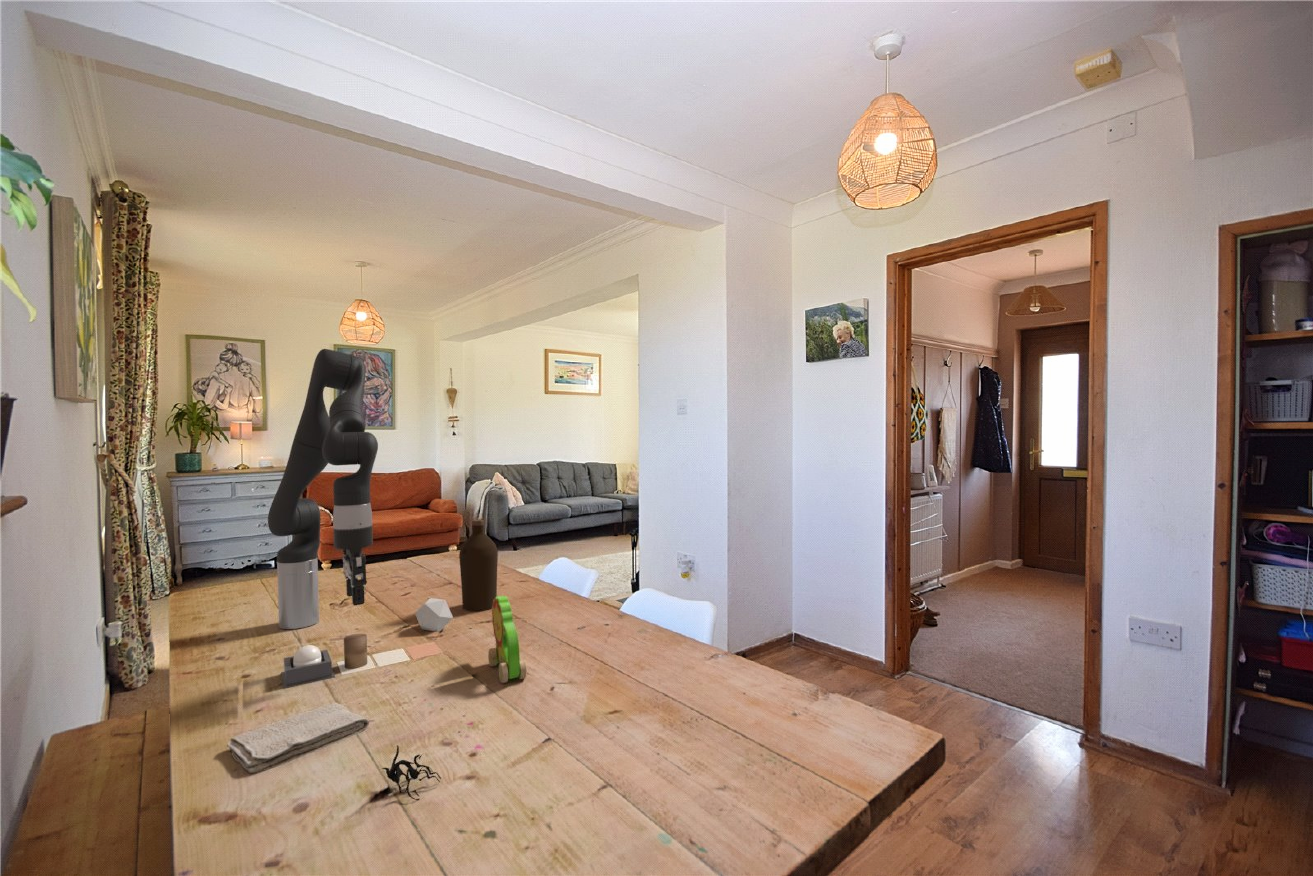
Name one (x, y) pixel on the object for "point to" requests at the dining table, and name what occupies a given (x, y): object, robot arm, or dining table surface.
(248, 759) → the washcloth
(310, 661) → the dome
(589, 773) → the dining table surface
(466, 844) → the dining table surface
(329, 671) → the button base
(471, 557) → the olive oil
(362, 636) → the brown cylinder
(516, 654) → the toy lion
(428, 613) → the die
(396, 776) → the creature
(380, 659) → the game board
